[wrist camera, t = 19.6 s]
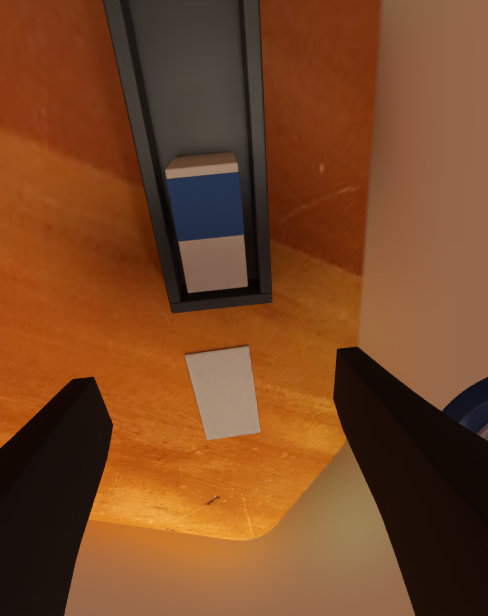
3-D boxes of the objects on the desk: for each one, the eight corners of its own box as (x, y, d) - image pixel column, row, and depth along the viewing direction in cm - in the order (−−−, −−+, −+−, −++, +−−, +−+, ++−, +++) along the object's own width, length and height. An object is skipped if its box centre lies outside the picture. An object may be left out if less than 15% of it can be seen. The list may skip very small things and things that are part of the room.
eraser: (242, 256, 18) (248, 287, 15) (191, 261, 18) (186, 293, 15) (233, 151, 15) (238, 162, 12) (173, 157, 15) (163, 169, 12)
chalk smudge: (260, 431, 25) (260, 432, 25) (207, 439, 25) (207, 440, 25) (248, 345, 21) (248, 346, 21) (184, 354, 21) (184, 355, 21)
